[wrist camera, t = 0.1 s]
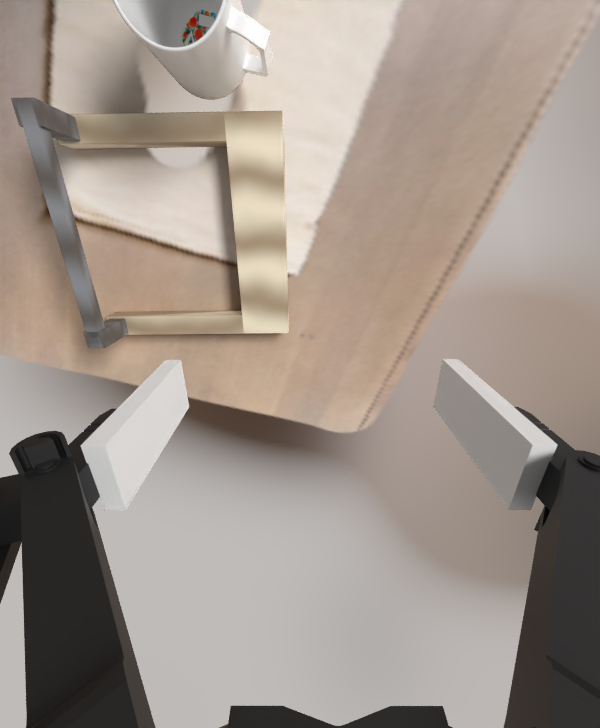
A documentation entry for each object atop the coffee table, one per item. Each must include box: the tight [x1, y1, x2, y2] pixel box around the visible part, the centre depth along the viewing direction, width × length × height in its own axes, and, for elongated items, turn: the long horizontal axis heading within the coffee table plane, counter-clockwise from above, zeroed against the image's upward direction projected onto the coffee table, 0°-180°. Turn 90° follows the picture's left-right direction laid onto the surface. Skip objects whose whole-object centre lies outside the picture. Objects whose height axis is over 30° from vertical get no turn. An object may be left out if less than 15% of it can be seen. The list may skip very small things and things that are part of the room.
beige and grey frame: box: [11, 98, 289, 348], centre depth 36 cm, size 24×24×8 cm
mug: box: [113, 0, 273, 99], centre depth 27 cm, size 12×9×11 cm
